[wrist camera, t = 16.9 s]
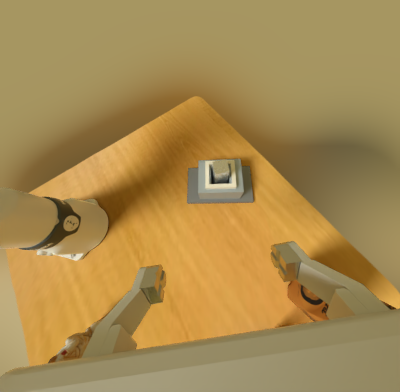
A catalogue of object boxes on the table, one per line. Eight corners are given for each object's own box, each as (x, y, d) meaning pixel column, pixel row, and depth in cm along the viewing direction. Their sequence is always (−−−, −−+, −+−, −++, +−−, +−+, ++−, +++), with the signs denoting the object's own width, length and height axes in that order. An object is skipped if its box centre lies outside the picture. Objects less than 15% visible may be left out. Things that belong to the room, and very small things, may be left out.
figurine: (98, 319, 39) (15, 356, 26) (118, 311, 37) (41, 346, 24) (99, 354, 36) (5, 417, 23) (121, 347, 34) (34, 410, 21)
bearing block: (187, 203, 45) (183, 196, 38) (188, 169, 49) (185, 158, 42) (252, 202, 43) (260, 195, 36) (248, 167, 47) (254, 155, 40)
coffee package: (296, 260, 37) (401, 282, 17) (347, 291, 34) (553, 366, 14) (280, 296, 35) (377, 374, 14) (332, 333, 32) (551, 498, 11)
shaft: (214, 190, 44) (215, 174, 34) (212, 180, 45) (212, 161, 35) (225, 188, 44) (229, 171, 34) (223, 178, 45) (226, 159, 35)
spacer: (205, 189, 38) (205, 187, 37) (205, 163, 41) (205, 161, 40) (235, 188, 38) (236, 186, 36) (233, 162, 40) (234, 159, 39)
